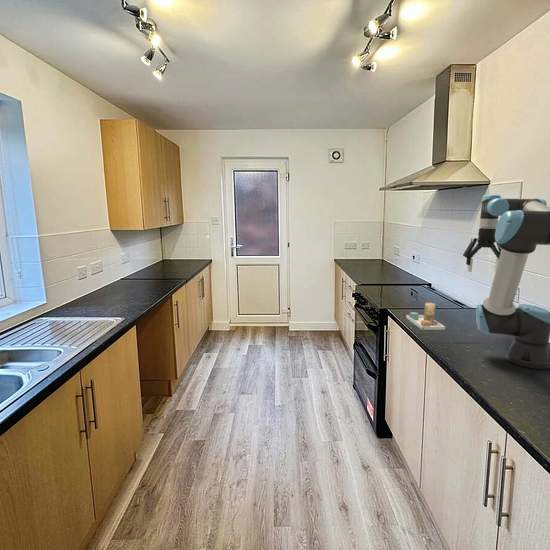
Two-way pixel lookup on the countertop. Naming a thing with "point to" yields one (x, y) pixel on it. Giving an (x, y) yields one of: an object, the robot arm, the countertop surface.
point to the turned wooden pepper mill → (429, 312)
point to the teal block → (414, 315)
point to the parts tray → (433, 327)
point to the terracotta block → (425, 323)
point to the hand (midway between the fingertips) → (482, 271)
